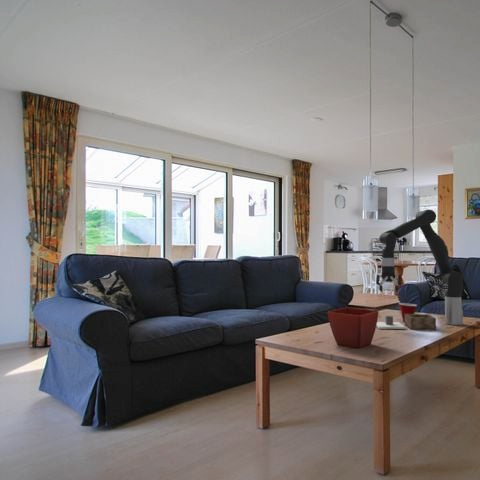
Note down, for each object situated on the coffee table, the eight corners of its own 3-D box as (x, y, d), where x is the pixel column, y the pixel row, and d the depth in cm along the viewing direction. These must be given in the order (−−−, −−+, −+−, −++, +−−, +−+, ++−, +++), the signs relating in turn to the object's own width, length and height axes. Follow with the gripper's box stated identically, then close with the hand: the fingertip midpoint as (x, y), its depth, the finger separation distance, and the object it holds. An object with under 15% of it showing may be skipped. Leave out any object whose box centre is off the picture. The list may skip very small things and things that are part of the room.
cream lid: (398, 325, 261) (398, 314, 261) (405, 330, 246) (405, 318, 246) (374, 325, 263) (374, 314, 263) (379, 329, 248) (378, 318, 248)
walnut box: (428, 325, 258) (428, 314, 258) (436, 330, 244) (435, 318, 244) (404, 325, 260) (404, 313, 260) (411, 329, 246) (411, 317, 246)
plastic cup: (420, 323, 265) (419, 304, 265) (403, 323, 265) (402, 304, 265) (413, 320, 275) (413, 302, 276) (396, 320, 276) (396, 302, 276)
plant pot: (326, 344, 211) (326, 311, 211) (346, 338, 225) (346, 307, 225) (360, 351, 198) (360, 315, 198) (380, 344, 211) (379, 310, 211)
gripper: (398, 264, 258) (399, 291, 257) (374, 265, 259) (375, 291, 259) (401, 265, 250) (402, 292, 250) (377, 265, 252) (377, 292, 252)
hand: (388, 291), depth 254 cm, fingers open, 8 cm apart
